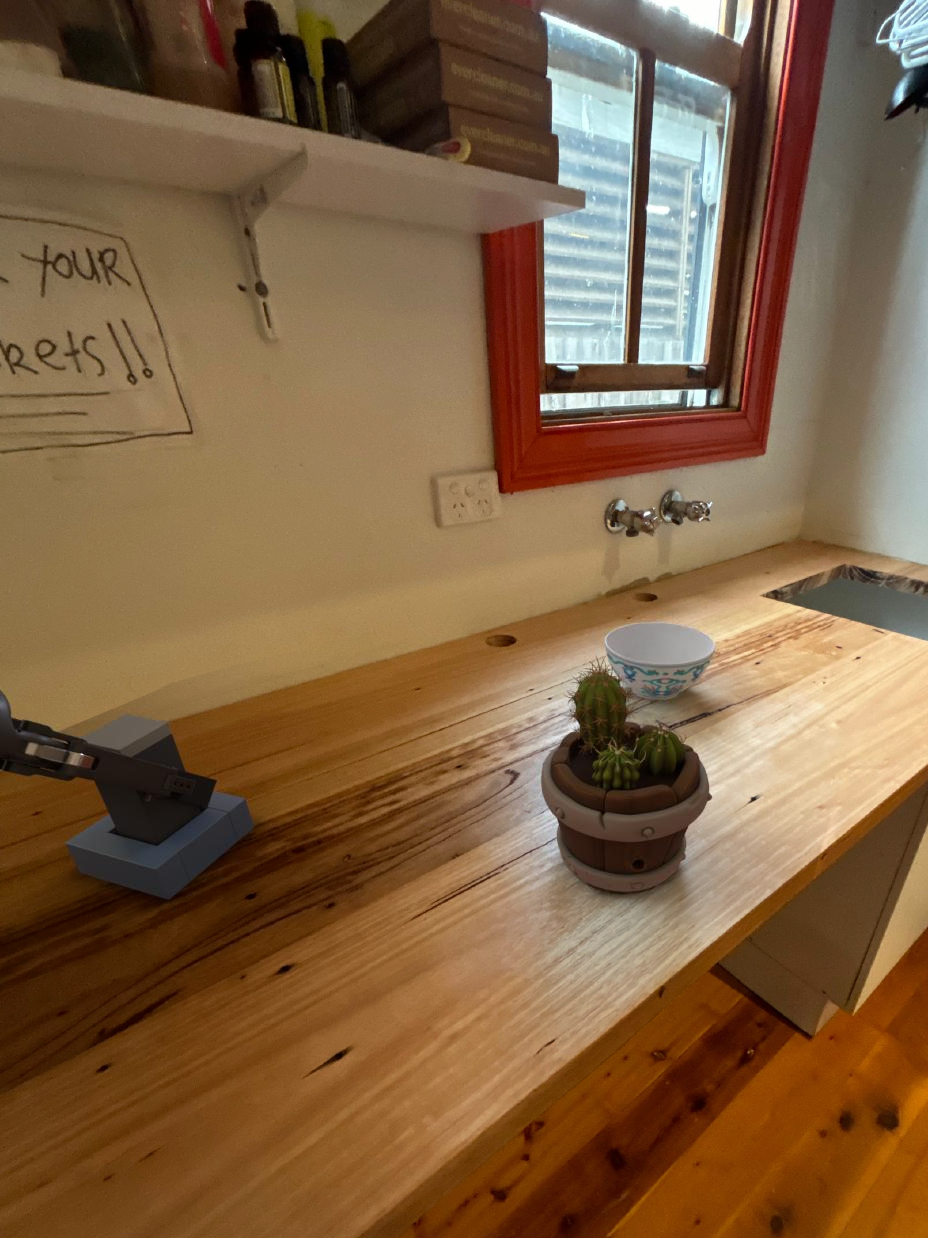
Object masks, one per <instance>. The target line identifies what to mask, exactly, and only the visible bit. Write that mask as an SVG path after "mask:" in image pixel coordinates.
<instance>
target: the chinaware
mask: <svg viewBox="0 0 928 1238" xmlns="http://www.w3.org/2000/svg"><path fill="white" fill-rule="evenodd" d="M604 647H605V653H606V656H607V660H608V663H609V666H610V667H612V668H611V669H613V671H612V672H613V673H614V675H615V676H616V677H617V678H618V676H619V677H622V678H621V679H623V680H621V681H620V682H621V683H622V684H623V685H625V686H626V687H627V688H629V689H630V687H631V689H630V690H631V691H632V693H633V694H634V695H635V696H638V697H639V698H642V699H646V700H650V701H667V700H671V699H674V698H676V697H677V696H678V695H679V694H680V693H681V692H684V691H686V690H687V689H688V688H690V687H691V686H693V685H694V684H695V683H697V682H698V681H699V680H700V679H701V677H702V676H703V675H704V674H705V672H706V671H707V669H708V667H709V665H710V663H711V661H712V659H713V656H714V653H715V652H716V651H715V650H716V643H715V641H714V639H713V638H712V637H711V636H710V635H709V634H707V633H705V632H703V631H701V630H699V629H697V628H694V627H692V626H688V625H683V624H678V623H672V622H661V621H649V622H648V621H647V622H645V621H644V622H635V623H629V624H625V625H622V626H619V627H616V628H614V629H613V630H611V631H609V632H608V633H607V635H606V636H605V637H604ZM618 673H619V675H618ZM626 675H628V676H626ZM623 676H624V677H623ZM625 678H628V679H625ZM619 679H620V678H619ZM624 681H625V682H624ZM626 682H627V683H626Z"/></svg>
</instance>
